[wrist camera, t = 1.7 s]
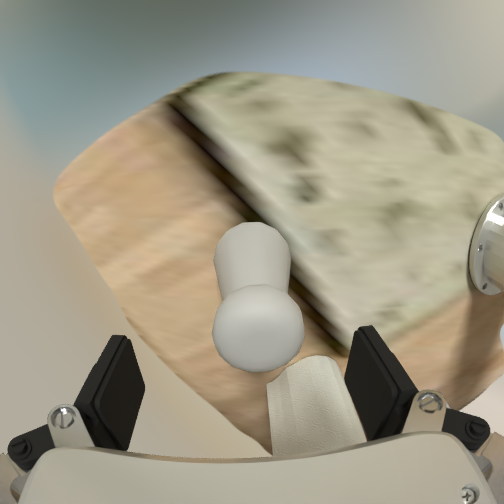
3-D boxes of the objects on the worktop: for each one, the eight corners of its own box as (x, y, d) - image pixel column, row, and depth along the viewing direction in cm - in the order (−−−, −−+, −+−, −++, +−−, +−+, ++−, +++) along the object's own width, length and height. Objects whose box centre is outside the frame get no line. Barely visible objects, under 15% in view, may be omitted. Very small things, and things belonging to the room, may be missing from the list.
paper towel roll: (348, 361, 29) (417, 535, 9) (319, 396, 31) (360, 558, 11) (292, 344, 28) (338, 557, 8) (266, 382, 30) (282, 570, 9)
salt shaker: (236, 290, 26) (232, 404, 13) (204, 235, 24) (166, 323, 12) (297, 262, 25) (340, 363, 13) (268, 203, 23) (295, 264, 11)
